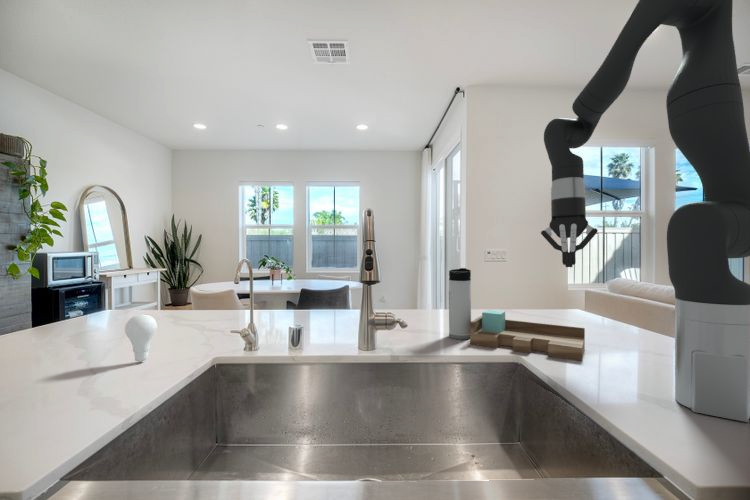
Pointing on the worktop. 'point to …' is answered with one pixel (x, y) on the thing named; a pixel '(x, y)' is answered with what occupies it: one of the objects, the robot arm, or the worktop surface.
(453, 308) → the travel mug
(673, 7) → the robot arm
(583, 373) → the worktop surface
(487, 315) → the teal block
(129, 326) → the lightbulb
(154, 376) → the worktop surface
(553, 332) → the walnut tray
